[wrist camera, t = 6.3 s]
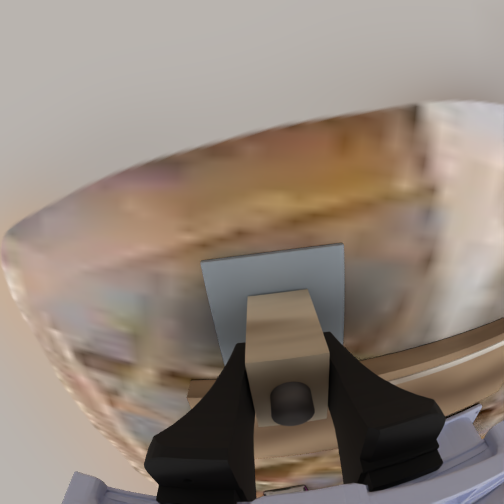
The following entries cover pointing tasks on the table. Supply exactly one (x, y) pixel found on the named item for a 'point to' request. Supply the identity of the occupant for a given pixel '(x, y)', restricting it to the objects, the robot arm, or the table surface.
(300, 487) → the candy bar box
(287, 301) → the block
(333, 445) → the walnut board
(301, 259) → the slate mat
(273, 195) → the table surface
